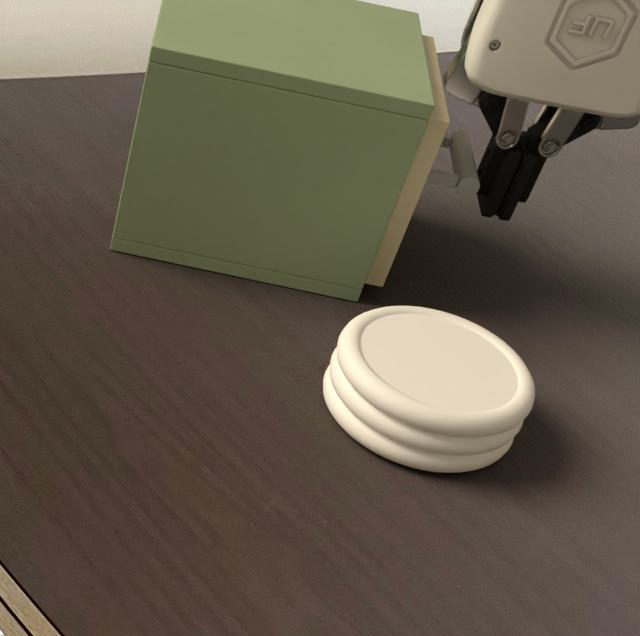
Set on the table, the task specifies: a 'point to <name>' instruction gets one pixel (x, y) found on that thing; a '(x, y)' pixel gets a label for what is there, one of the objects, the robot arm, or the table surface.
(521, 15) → the robot arm
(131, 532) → the table surface
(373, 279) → the drawer
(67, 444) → the table surface
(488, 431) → the cream round stack
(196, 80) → the cabinet
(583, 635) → the table surface
